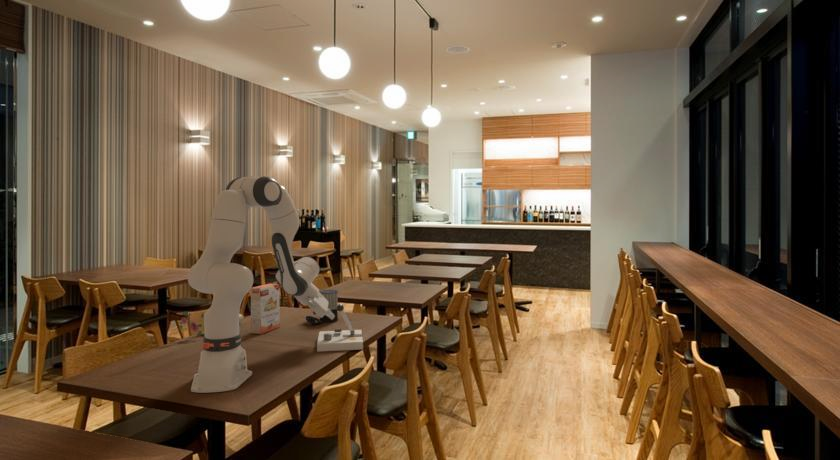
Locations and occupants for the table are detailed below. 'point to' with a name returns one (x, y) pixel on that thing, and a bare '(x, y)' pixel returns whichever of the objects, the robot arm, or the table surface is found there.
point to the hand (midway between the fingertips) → (333, 317)
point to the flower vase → (196, 326)
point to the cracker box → (265, 308)
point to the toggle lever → (345, 318)
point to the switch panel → (340, 341)
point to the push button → (327, 336)
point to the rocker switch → (337, 330)
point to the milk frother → (333, 303)
